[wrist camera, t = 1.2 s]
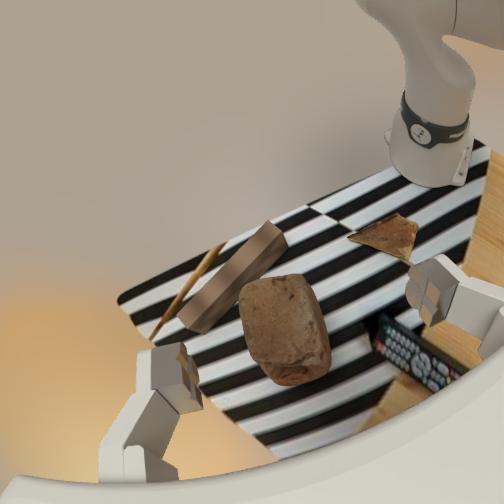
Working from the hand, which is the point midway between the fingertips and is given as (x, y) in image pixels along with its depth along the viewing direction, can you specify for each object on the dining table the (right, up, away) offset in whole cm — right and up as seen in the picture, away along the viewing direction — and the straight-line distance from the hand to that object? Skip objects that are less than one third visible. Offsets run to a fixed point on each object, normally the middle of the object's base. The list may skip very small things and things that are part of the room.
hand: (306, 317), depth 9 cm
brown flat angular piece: (+20, +3, +36) cm, 41 cm away
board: (-4, -3, +40) cm, 40 cm away
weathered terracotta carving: (+6, -12, +33) cm, 36 cm away
